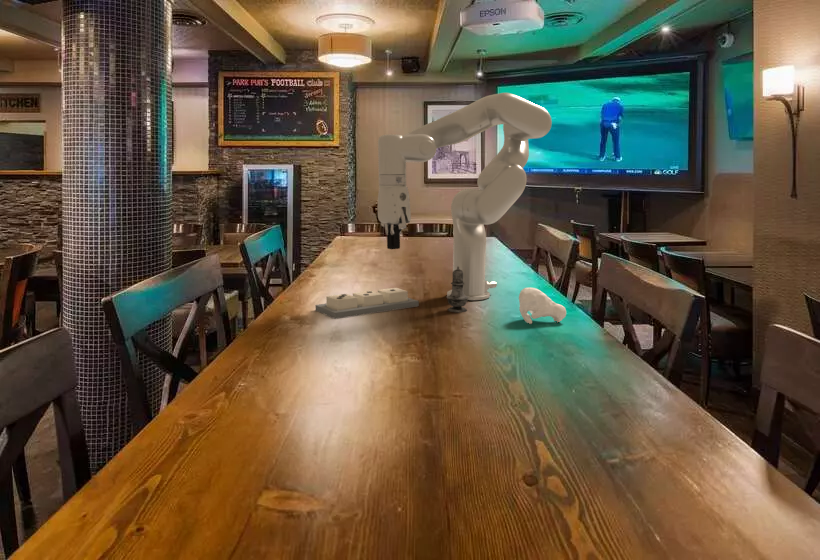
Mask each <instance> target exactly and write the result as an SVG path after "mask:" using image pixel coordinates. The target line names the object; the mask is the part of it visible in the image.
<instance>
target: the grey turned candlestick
mask: <svg viewBox="0 0 820 560" xmlns="http://www.w3.org/2000/svg"><path fill="white" fill-rule="evenodd" d="M450 284H451V290H452V293H451V295H449V296H446V299H447V303H448V305H450V307H448V308H447V311H448V312H451V313H465V312H467V311H468V309H467V308H466V307H465V305H466V304H467V303H468V300H467V299H468V296H465V295H464V292H463V285H464V284H465V283H464V282H463V271H462V270H460V269H459V267H457V269H456V270H454V271H453V270H452V282H450Z"/></svg>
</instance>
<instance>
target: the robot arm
mask: <svg viewBox="0 0 820 560" xmlns="http://www.w3.org/2000/svg"><path fill="white" fill-rule="evenodd" d="M552 122H553V121H552V116H551V115H550V112H548V110H547V109H546V108H545V107H542V106H540V105H538V104H535V103H533V102H531V101H529V100H527V99H525V98H523V97H521V96H519V95H516V94H513V93H510V92H501V93H500V92H499V93H494V94H490V95H486V96H484V97H482V98H479V99H477V100H475V101H473V102H471V103H469V104H467V105H465V106H464V107H462V108H459V109H458V110H456V111H453V112H451V113H449V114H446V115H444V116H442V117H440V118H438V119H436V120H433V121H432V122H428V123H427V124H424V125H422V126H420V127H417V128H415V129H413V130H411V131H410V132H408V133H405V134H404V135H402V134H382V135H380V136H379V137H378V139H377V157H378V162H377V163H378V194H377V218H378V219H377V220H378V221H379V222H380V226H381V227H383V228H384V229H385V234H386V248H387V249H388V250H399V249H400V248H401V234H402V230H404V229H407V224H409V223H410V222H411V221H412V218H411V217H412V215H411V214H412V213H411V210H412V209H411V199H410V193H409V188H408V186H407V163H425V162H428V161H430V160H432V159H433V158H434V157H435V155H436V153H437V149H440V148H442V147H447V146H451V145H456V144H460V143H462V142H465V141H467V140H470V139H472V138H473V137H475V136H478V135H479V134H481V133H483V132H485V131H487V130H489V129H491V128H492V127H495V126H498V125H500V126H501V125H503V126H502V127H503V128H502V129H503V140H504V141H503V146H502V148H501V149H500V150H499V152H498V153H496V155H495V156H494V157H493V158H492V160H490V162H488V164H487V165H486V166H484V168H483V169H482V170H481V172H480V173H479V175H478V178H477V181H476V182H477V187H478V189H476V188H475V189H473V188H470V189H469V188H467V189H466V188H465V189H463V190H460V191H459V192H457V193H456V194H455V195H454V197H453V198H452V201H451V204H450V211H451V212H450V213H451V214H450V215H451V218H452V219H451V221H452V225H453V226H452V230H453V243H452V244H453V246H452V247H453V248H452V251H453V252H452V272H453V271H454V270H456V269H457V267H459V269H460V270H462V271H463V282H464V283H465V284H464V285H463V292H464V295H465V296H468V299H467V301H482V300H483V301H484V300H487V299H489V298H490V296H491V295H490V294H491V293H490V292H489V291H488V290H489V289H495V288H497V286H498V285H497V282H496V281H490V282H489V281H488V280H486V255H487V253H486V249H487V232H486V228H485V225H487V226H488V225H491V224H495V223H496V222H497V221H499V220H500V219H501V218H502V217H504V215H505V214H506V213H507V211H508V210H509V209H510V208H511V207H512V206H513V205H514V204H515V203H516V201H517V200H518V199H519V198H520V197H521V195H522V194H523V192H524V190H525V188H526V185H527V181H528V180H527V178H528V177H527V174H526V171H525V169H524V167H525V166H526V164H527V163H528V160H529V157H530V150H529V149H530V148H529V140H530V139H531V140H532V139H541V138H543V137H544V136H546V135H547V134H548V133H549V132H550V130H551V128H552V124H553V123H552ZM451 293H452V289H449V290H447V293H446V295H447V296H449V295H451ZM447 296H446V297H447Z"/></svg>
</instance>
